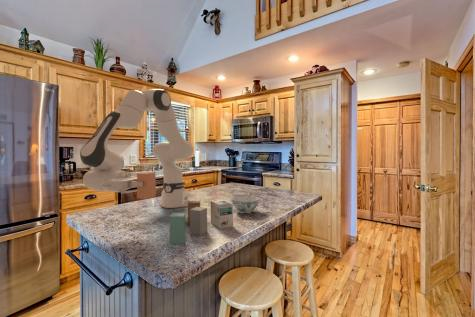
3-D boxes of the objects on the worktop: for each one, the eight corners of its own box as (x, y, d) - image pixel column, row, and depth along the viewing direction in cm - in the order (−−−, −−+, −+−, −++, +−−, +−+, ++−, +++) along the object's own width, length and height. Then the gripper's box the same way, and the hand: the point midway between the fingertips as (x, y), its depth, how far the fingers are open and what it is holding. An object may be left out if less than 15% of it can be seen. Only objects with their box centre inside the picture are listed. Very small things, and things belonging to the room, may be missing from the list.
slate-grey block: (197, 229, 100) (196, 206, 100) (207, 231, 98) (206, 207, 98) (190, 233, 95) (189, 209, 95) (200, 235, 93) (200, 210, 93)
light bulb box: (233, 227, 104) (233, 202, 104) (219, 229, 101) (219, 204, 100) (223, 220, 113) (222, 198, 113) (210, 222, 110) (209, 199, 109)
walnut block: (189, 221, 112) (189, 200, 111) (200, 221, 112) (200, 200, 111) (187, 225, 107) (187, 203, 106) (198, 224, 107) (198, 203, 106)
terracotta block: (145, 195, 98) (144, 172, 98) (155, 196, 97) (155, 172, 97) (137, 198, 94) (136, 173, 93) (148, 199, 92) (147, 173, 92)
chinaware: (244, 217, 118) (244, 202, 117) (226, 211, 129) (226, 197, 129) (265, 212, 127) (265, 198, 127) (246, 207, 139) (246, 194, 138)
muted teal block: (172, 238, 90) (172, 212, 90) (185, 238, 91) (185, 212, 90) (169, 243, 85) (169, 216, 85) (183, 243, 86) (183, 216, 85)
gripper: (99, 177, 88) (130, 178, 85) (135, 171, 108) (162, 172, 104) (99, 193, 88) (131, 195, 85) (135, 185, 108) (162, 186, 105)
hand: (148, 182), depth 95 cm, fingers closed on terracotta block, 5 cm apart
